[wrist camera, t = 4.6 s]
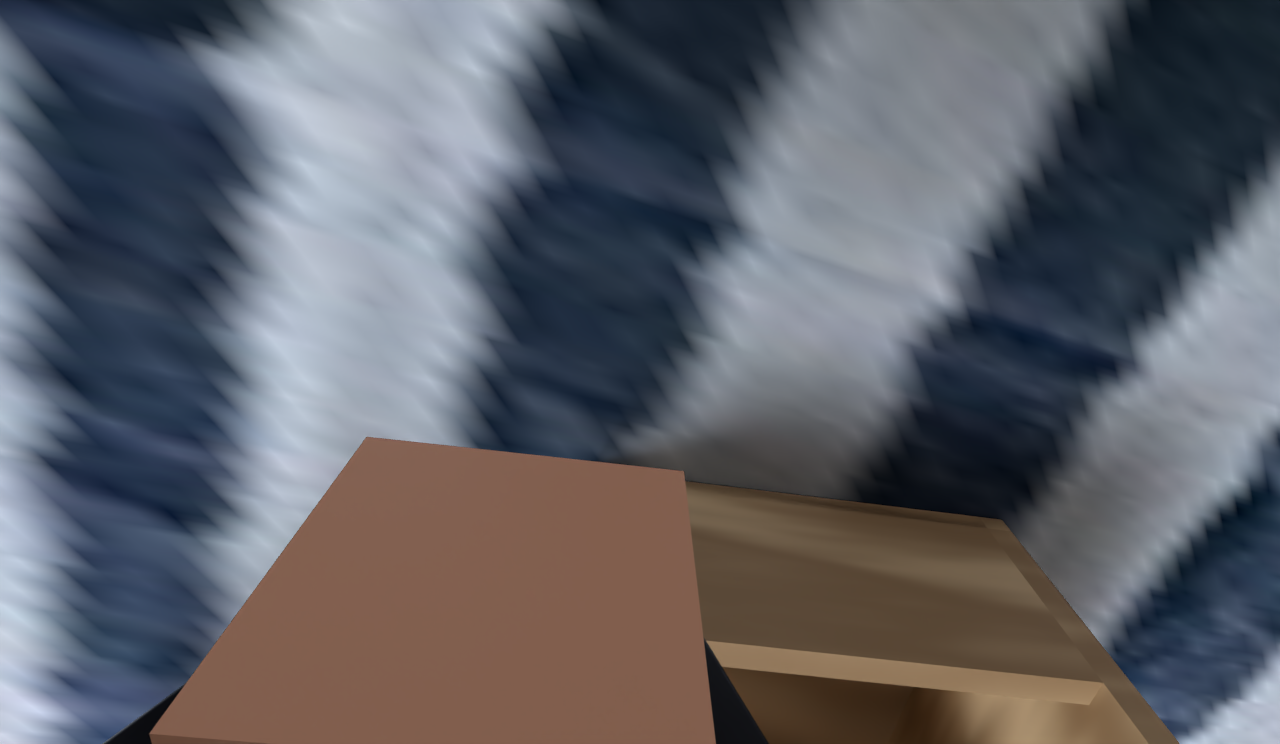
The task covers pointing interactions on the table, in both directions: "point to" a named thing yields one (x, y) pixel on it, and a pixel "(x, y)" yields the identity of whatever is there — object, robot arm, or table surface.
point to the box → (898, 628)
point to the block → (467, 611)
